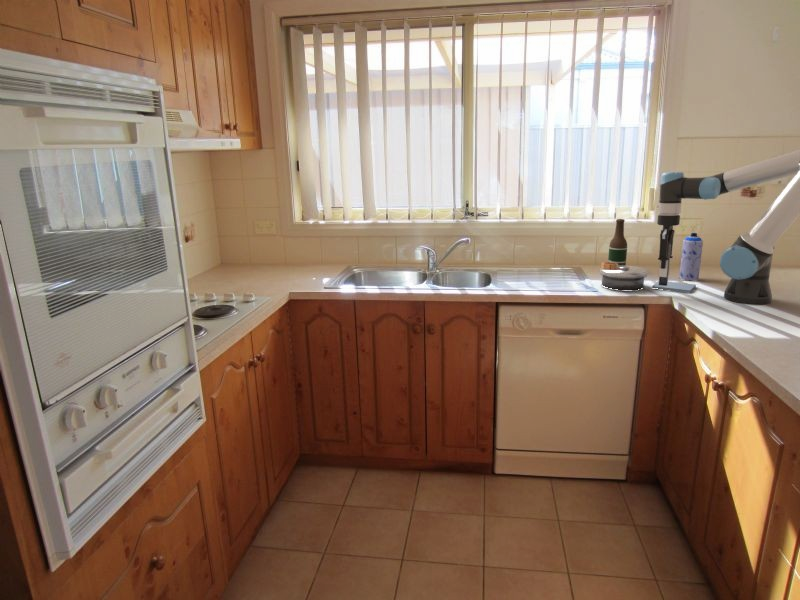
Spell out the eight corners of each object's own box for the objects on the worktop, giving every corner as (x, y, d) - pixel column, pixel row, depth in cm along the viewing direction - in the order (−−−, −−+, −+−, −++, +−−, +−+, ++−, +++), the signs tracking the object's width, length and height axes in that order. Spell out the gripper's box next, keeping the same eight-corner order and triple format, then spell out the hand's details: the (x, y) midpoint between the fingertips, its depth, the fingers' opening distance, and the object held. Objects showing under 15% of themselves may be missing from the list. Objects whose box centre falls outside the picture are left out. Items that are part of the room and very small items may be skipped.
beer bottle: (607, 272, 259) (611, 220, 253) (607, 268, 266) (610, 218, 260) (625, 272, 257) (630, 220, 251) (624, 269, 264) (628, 218, 258)
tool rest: (695, 287, 228) (695, 284, 227) (690, 293, 218) (690, 290, 218) (658, 283, 236) (658, 280, 235) (651, 288, 226) (652, 286, 226)
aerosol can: (702, 281, 238) (708, 234, 233) (683, 281, 238) (689, 234, 233) (693, 277, 246) (698, 231, 241) (675, 277, 246) (680, 231, 241)
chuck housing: (647, 285, 233) (648, 273, 231) (637, 293, 220) (638, 280, 219) (608, 280, 242) (609, 269, 241) (596, 288, 229) (597, 276, 228)
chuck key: (668, 284, 216) (671, 243, 212) (666, 286, 214) (670, 244, 210) (659, 283, 218) (663, 242, 214) (657, 285, 215) (661, 243, 212)
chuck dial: (651, 272, 232) (652, 263, 231) (640, 280, 217) (641, 270, 216) (607, 268, 242) (608, 259, 241) (594, 275, 228) (594, 266, 227)
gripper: (662, 212, 218) (658, 271, 223) (653, 216, 205) (648, 278, 211) (684, 212, 213) (678, 273, 219) (675, 216, 201) (670, 280, 207)
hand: (663, 275), depth 215 cm, fingers closed on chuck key, 3 cm apart
